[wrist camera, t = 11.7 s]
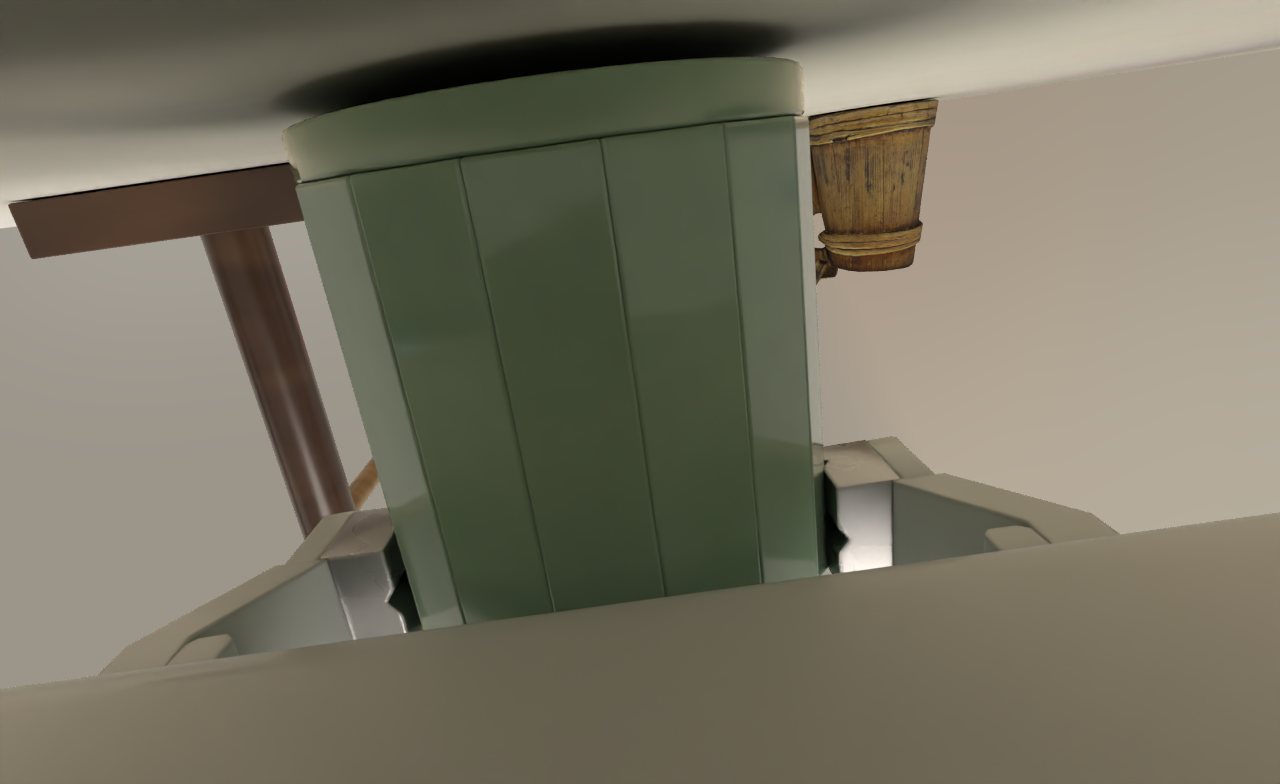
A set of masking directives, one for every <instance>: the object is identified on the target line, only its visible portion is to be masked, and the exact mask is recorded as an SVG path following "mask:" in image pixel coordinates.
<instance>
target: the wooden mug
mask: <svg viewBox="0 0 1280 784" xmlns="http://www.w3.org/2000/svg"><path fill="white" fill-rule="evenodd" d="M937 106H938V100H925V101H916V102H908V103H901V104H893V105H886V106H879V107H872V108H864V109H857V110H849V111H843V112H837V113H832V114H825V115H819V116H814V117H810V118H808V119H809V138H810V160H811V182H812V204H813V215H815V214H817V213H822V217H823V221H824V226H825V230H824V231H823V232H821V233H820V234H819V235H818V238H819V241H821V242H822V243H824V244H825V247H824V248H814V249H815V271H816V285H817V283H818V281H819V280H820V279H826V278H831V277H835V276H836V274H837V271H838V268H840V269H844V270H848V271H858V272H865V271H887V270H894V269H901V268H906V267H909V266H910V265H912V263H913V259H914V252H915V246H916V244H917V243H918V242H919V241H920V237H921V231H922V225H923V223H922V222H921V221H920V220H919V214H920V205H921V197H922V190H923V182H924V174H925V167H926V160H927V152H928V144H929V136H930V129H931V127H933V126H934V124H935V118H936V112H937Z"/></svg>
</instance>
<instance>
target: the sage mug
mask: <svg viewBox="0 0 1280 784" xmlns="http://www.w3.org/2000/svg"><path fill="white" fill-rule="evenodd" d="M803 113H804V94H803V72H802V67H801V65H800V63H799V62H796V61H793V60H790V59H784V58H776V57H715V58H694V59H681V60H667V61H654V62H643V63H633V64H623V65H612V66H603V67H594V68H586V69H577V70H568V71H560V72H553V73H545V74H537V75H530V76H522V77H515V78H508V79H502V80H495V81H488V82H481V83H475V84H468V85H462V86H457V87H451V88H445V89H439V90H433V91H427V92H422V93H416V94H411V95H406V96H401V97H395V98H390V99H385V100H380V101H376V102H371V103H367V104H362V105H357V106H353V107H349V108H345V109H341V110H337V111H333V112H329V113H325V114H322V115H319V116H316V117H312V118H309V119H306V120H304V121H301V122H299V123H296V124H294V125H292V126H290V127H288V128H287V129H285V130H284V131H283V134H282V141H283V144H284V148H285V151H286V155H287V158H288V161H289V165H290V168H291V172H292V175H293V179H294V181H295V183H296V184H298V185H297V186H296V189H295V190H296V194H297V197H298V201H299V204H300V208H301V211H302V214H303V218H304V221H305V225H306V228H307V231H308V235H309V239H310V242H311V245H312V249H313V252H314V256H315V259H316V263H317V266H318V270H319V273H320V276H321V280H322V283H323V286H324V290H325V293H326V296H327V300H328V304H329V307H330V311H331V314H332V318H333V321H334V325H335V328H336V331H337V335H338V338H339V342H340V345H341V349H342V352H343V356H344V359H345V363H346V366H347V369H348V373H349V376H350V380H351V383H352V387H353V390H354V393H355V397H356V400H357V404H358V407H359V411H360V414H361V417H362V421H363V425H364V428H365V431H366V435H367V438H368V442H369V445H370V449H371V452H372V455H373V459H374V463H375V466H376V469H377V473H378V476H379V480H380V483H381V487H382V490H383V494H384V497H385V500H386V504H387V507H388V511H389V514H390V518H391V521H392V525H393V528H394V531H395V535H396V538H397V542H398V545H399V549H400V552H401V556H402V559H403V562H404V566H405V569H406V573H407V576H408V580H409V583H410V587H411V590H412V593H413V597H414V600H415V604H416V607H417V611H418V614H419V618H420V621H421V624H422V628H423V630H429V629H437V628H444V627H451V626H459V625H466V624H473V623H480V622H488V621H495V620H502V619H510V618H517V617H524V616H531V615H539V614H546V613H553V612H560V611H568V610H575V609H582V608H590V607H597V606H604V605H611V604H619V603H626V602H633V601H641V600H648V599H655V598H662V597H670V596H677V595H684V594H691V593H699V592H706V591H713V590H721V589H728V588H735V587H742V586H750V585H757V584H764V583H772V582H779V581H786V580H793V579H801V578H808V577H815V576H822V575H829V568H828V549H827V515H826V507H825V483H824V449H823V427H822V404H821V383H820V362H819V361H820V360H819V340H818V339H819V338H818V315H817V293H816V271H815V249H814V228H813V204H812V182H811V160H810V138H809V119H808V117H807V116H801V115H803Z"/></svg>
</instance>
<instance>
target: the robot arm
mask: <svg viewBox="0 0 1280 784" xmlns="http://www.w3.org/2000/svg"><path fill="white" fill-rule="evenodd" d="M823 449H824V483H825V507H826V515H827V549H828V568H829V570H830V571H831V573H832V574H830V575H822V576H815V577H808V578H801V579H793V580H786V581H779V582H772V583H764V584H757V585H750V586H742V587H735V588H728V589H721V590H713V591H706V592H699V593H691V594H684V595H677V596H670V597H662V598H655V599H648V600H641V601H633V602H626V603H619V604H611V605H604V606H597V607H590V608H582V609H575V610H568V611H560V612H553V613H546V614H539V615H531V616H524V617H517V618H510V619H502V620H495V621H488V622H480V623H473V624H466V625H459V626H451V627H444V628H437V629H429V630H422V631H420V629H421V627H422V624H421V621H420V618H419V614H418V611H417V607H416V604H415V600H414V597H413V593H412V590H411V587H410V583H409V580H408V576H407V573H406V569H405V566H404V562H403V559H402V556H401V552H400V549H399V545H398V542H397V538H396V535H395V531H394V528H393V525H392V521H391V518H390V514H389V511H388V508H381V509H372V510H363V511H350V512H344V513H338V514H332V515H326V516H324V517H323V518H322V520H321V521H320V522H319V523H318V524H317V526H316V527H315V528H314V529H313V531H312V532H311V533H310V534H309V535H308V537H307V538H306V539H305V540H304V542H303V543H302V544H301V545H300V546H299V548H298V549H297V550H296V551H295V552H294V554H293V555H292V556H291V557H290V559H289V560H288V561H287V562H286V563H285V565H278V566H274V567H272V568H271V569H269V570H267V571H265V572H263V573H261V574H259V575H258V576H256V577H254V578H252V579H250V580H248V581H246V582H244V583H243V584H241V585H239V586H237V587H235V588H233V589H232V590H230V591H228V592H226V593H224V594H222V595H221V596H219V597H217V598H215V599H213V600H211V601H209V602H208V603H205V604H204V605H202V606H200V607H198V608H196V609H194V610H193V611H191V612H189V613H187V614H185V615H183V616H181V617H180V618H178V619H176V620H174V621H172V622H170V623H168V624H167V625H165V626H163V627H161V628H159V629H157V630H155V631H154V632H152V633H150V634H148V635H146V636H144V637H142V638H141V639H139V640H137V641H135V642H133V643H131V644H129V645H128V646H126V647H125V648H124V649H123V650H122V651H121V652H120V653H119V654H118V655H117V656H116V657H115V658H114V659H113V660H112V661H111V662H110V663H109V664H108V665H107V666H106V667H105V668H104V669H103V670H102V671H101V672H100V673H99V674H98V675H96V676H89V677H81V678H75V679H67V680H60V681H52V682H46V683H38V684H31V685H24V686H16V687H9V688H2V689H0V784H1280V512H1279V513H1272V514H1265V515H1258V516H1251V517H1243V518H1236V519H1229V520H1221V521H1214V522H1207V523H1200V524H1193V525H1185V526H1178V527H1170V528H1163V529H1157V530H1149V531H1141V532H1134V533H1127V534H1119V533H1118V532H1117V531H1115V530H1114V529H1112V528H1111V527H1110V526H1108V525H1107V524H1106V523H1104V522H1103V521H1101V520H1100V519H1099V518H1097V517H1096V516H1095V515H1093V514H1092V513H1088V512H1085V511H1081V510H1078V509H1074V508H1070V507H1067V506H1063V505H1059V504H1056V503H1052V502H1048V501H1045V500H1041V499H1037V498H1034V497H1030V496H1026V495H1022V494H1019V493H1015V492H1011V491H1008V490H1004V489H1001V488H996V487H993V486H989V485H986V484H982V483H979V482H975V481H971V480H967V479H964V478H960V477H957V476H953V475H949V474H946V473H943V474H934V473H933V472H932V471H931V470H930V469H929V468H928V467H927V466H926V465H925V464H924V463H923V462H922V461H921V460H920V459H919V458H918V457H917V456H916V455H914V454H913V453H912V452H911V451H910V450H909V449H908V448H907V447H906V446H905V445H904V444H903V443H902V442H901V441H900V440H899V439H898V438H897V437H892V436H890V437H885V438H879V439H874V440H868V441H866V440H863V441H856V442H851V443H844V444H838V445H831V446H825V447H823Z"/></svg>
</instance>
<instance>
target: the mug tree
mask: <svg viewBox="0 0 1280 784" xmlns="http://www.w3.org/2000/svg"><path fill="white" fill-rule="evenodd" d="M297 185H298V184H296V183H295V181H294V179H293V175H292V172H291V168H290V165H289V164H286V165H279V166H272V167H265V168H258V169H251V170H244V171H237V172H230V173H223V174H216V175H209V176H201V177H194V178H187V179H180V180H173V181H166V182H159V183H152V184H145V185H138V186H131V187H124V188H117V189H110V190H103V191H96V192H89V193H82V194H75V195H67V196H60V197H53V198H46V199H39V200H32V201H25V202H18V203H11V204H9V205H8V206H9V209H10V211H11V213H12V216H13V218H14V220H15V223H16V225H17V227H18V229H19V232H20V234H21V237H22V239H23V241H24V244H25V246H26V248H27V250H28V253H29V255H30V257H31V258H32V259H37V258H45V257H51V256H59V255H66V254H73V253H80V252H87V251H94V250H101V249H108V248H116V247H122V246H130V245H137V244H144V243H151V242H157V241H164V240H172V239H179V238H186V237H193V236H200V237H201V240H202V242H203V245H204V248H205V251H206V254H207V257H208V260H209V263H210V266H211V268H212V271H213V275H214V277H215V280H216V283H217V286H218V289H219V292H220V295H221V298H222V301H223V304H224V306H225V310H226V312H227V315H228V318H229V321H230V324H231V327H232V330H233V333H234V336H235V339H236V342H237V344H238V347H239V350H240V353H241V356H242V359H243V362H244V365H245V368H246V371H247V373H248V376H249V380H250V382H251V385H252V388H253V391H254V394H255V397H256V400H257V403H258V406H259V409H260V411H261V415H262V417H263V420H264V423H265V426H266V429H267V432H268V435H269V438H270V441H271V444H272V446H273V450H274V452H275V455H276V458H277V461H278V464H279V467H280V470H281V473H282V476H283V479H284V481H285V485H286V488H287V490H288V493H289V496H290V499H291V502H292V505H293V508H294V511H295V514H296V517H297V520H298V523H299V525H300V528H301V531H302V534H303V537H304V540H305V539H306V538H307V537H308V535H309V534H310V533H311V532H312V531H313V529H314V528H315V527H316V526H317V524H318V523H319V522H320V521H321V520H322V518H323V517H324V516H326V515H332V514H338V513H344V512H350V511H359V510H360V508H361V507H362V506H363V504H364V503H365V501H366V500H367V499H368V497H369V496H370V494H371V493H372V492H373V490H374V489H375V487H376V486H377V485H378V483H379V482H380V480H379V476H378V473H377V469H376V466H375V463H374V459H373V457H372V459H371V460H370V461H369V463H368V464H367V465H366V466H365V467H364V469H363V470H362V471H361V472H360V474H359V475H358V476H357V477H356V478H355V480H354V481H353V482H352V483H351V485H350V486H348V483H347V479H346V476H345V473H344V469H343V466H342V463H341V460H340V457H339V453H338V450H337V447H336V443H335V440H334V437H333V434H332V430H331V427H330V424H329V421H328V418H327V414H326V411H325V408H324V405H323V401H322V398H321V395H320V392H319V388H318V385H317V382H316V379H315V375H314V372H313V369H312V366H311V363H310V359H309V356H308V353H307V350H306V346H305V343H304V340H303V336H302V333H301V330H300V327H299V324H298V320H297V317H296V314H295V310H294V307H293V304H292V301H291V297H290V294H289V291H288V288H287V285H286V281H285V278H284V275H283V272H282V268H281V265H280V262H279V259H278V255H277V252H276V249H275V246H274V243H273V239H272V236H271V233H270V229H269V226H271V225H278V224H285V223H292V222H299V221H304V218H303V214H302V211H301V208H300V204H299V201H298V197H297V194H296V190H295V189H296V186H297ZM422 630H423V628H422V627H421V629H420V631H422Z"/></svg>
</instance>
